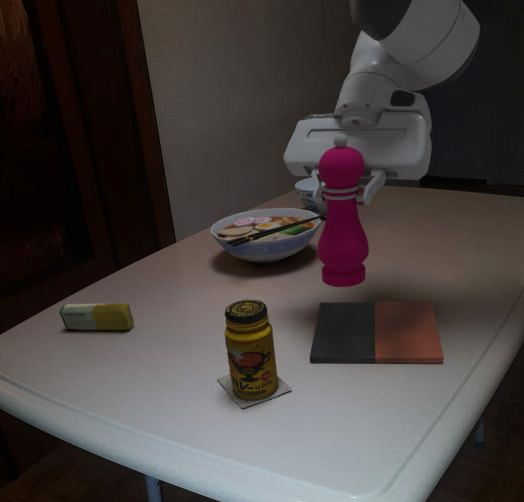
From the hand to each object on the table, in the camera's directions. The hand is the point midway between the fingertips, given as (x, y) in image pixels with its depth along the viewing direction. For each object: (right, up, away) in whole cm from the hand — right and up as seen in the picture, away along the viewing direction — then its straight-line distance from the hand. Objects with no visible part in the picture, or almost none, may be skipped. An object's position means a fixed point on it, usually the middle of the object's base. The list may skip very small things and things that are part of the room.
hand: (340, 202), depth 75 cm
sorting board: (+7, -17, +9) cm, 21 cm away
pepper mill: (+1, -10, +6) cm, 12 cm away
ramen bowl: (-9, 0, +43) cm, 44 cm away
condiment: (-12, -25, 0) cm, 27 cm away
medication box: (-38, -16, +20) cm, 46 cm away
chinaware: (+6, +15, +67) cm, 69 cm away
